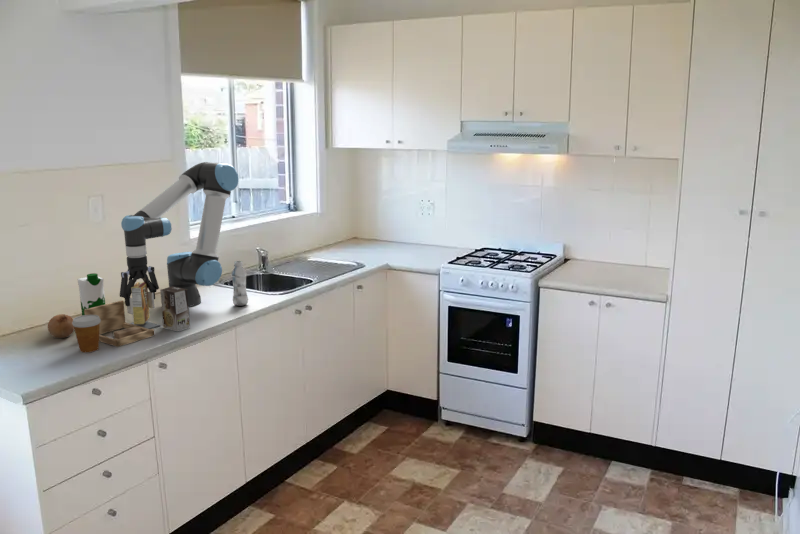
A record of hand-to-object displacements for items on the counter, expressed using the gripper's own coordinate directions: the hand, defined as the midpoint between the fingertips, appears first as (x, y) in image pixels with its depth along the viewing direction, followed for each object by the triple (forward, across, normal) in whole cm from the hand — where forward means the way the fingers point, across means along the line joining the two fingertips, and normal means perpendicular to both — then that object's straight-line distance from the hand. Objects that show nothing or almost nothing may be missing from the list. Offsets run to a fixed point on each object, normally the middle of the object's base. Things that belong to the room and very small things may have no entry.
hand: (141, 310), depth 273 cm
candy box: (+5, 0, 0) cm, 5 cm away
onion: (+7, +26, -14) cm, 30 cm away
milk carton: (+7, +6, -23) cm, 25 cm away
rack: (+7, +12, +4) cm, 15 cm away
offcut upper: (+5, +13, +10) cm, 17 cm away
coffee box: (+7, -6, +13) cm, 16 cm away
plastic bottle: (+7, -44, +10) cm, 45 cm away
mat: (+7, 0, 0) cm, 7 cm away
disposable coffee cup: (+7, +28, +8) cm, 30 cm away
